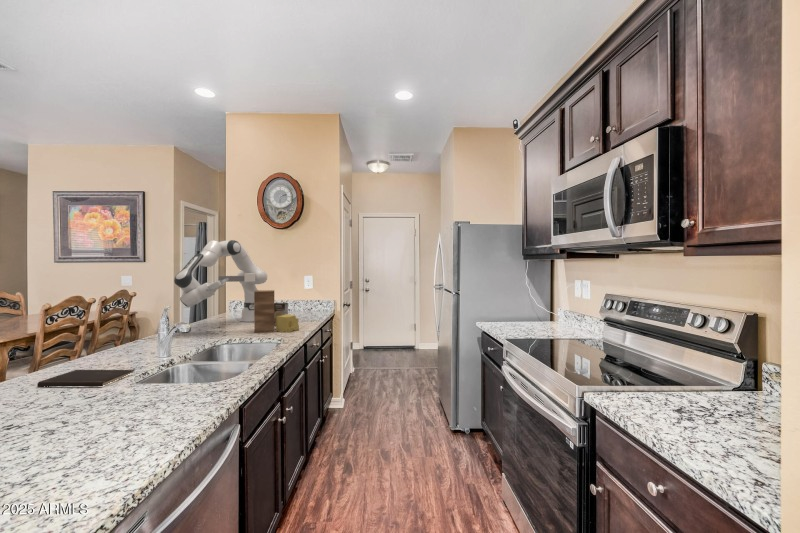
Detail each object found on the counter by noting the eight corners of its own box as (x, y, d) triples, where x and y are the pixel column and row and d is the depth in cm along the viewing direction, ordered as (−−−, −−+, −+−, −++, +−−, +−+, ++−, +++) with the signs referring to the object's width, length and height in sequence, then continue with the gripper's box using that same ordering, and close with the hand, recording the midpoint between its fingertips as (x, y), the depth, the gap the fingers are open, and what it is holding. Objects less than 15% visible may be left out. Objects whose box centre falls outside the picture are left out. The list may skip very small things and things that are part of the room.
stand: (254, 329, 250) (254, 290, 249) (274, 328, 254) (274, 290, 253) (253, 332, 238) (253, 291, 238) (274, 331, 242) (274, 291, 242)
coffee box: (272, 326, 263) (272, 303, 263) (276, 324, 270) (276, 302, 270) (284, 326, 263) (284, 303, 263) (288, 325, 269) (288, 302, 269)
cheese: (299, 330, 249) (299, 314, 249) (287, 332, 240) (287, 317, 239) (286, 328, 254) (286, 314, 254) (275, 331, 244) (275, 316, 244)
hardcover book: (76, 375, 149) (76, 369, 149) (134, 375, 149) (134, 369, 149) (37, 388, 133) (37, 382, 133) (102, 389, 133) (102, 382, 133)
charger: (219, 281, 240) (219, 273, 240) (255, 281, 247) (255, 273, 247) (218, 281, 234) (218, 273, 234) (254, 281, 241) (254, 273, 241)
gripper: (202, 286, 225) (224, 274, 229) (207, 284, 244) (228, 273, 248) (208, 295, 226) (229, 283, 230) (213, 292, 245) (233, 282, 249)
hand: (229, 278), depth 239 cm, fingers closed on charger, 3 cm apart
